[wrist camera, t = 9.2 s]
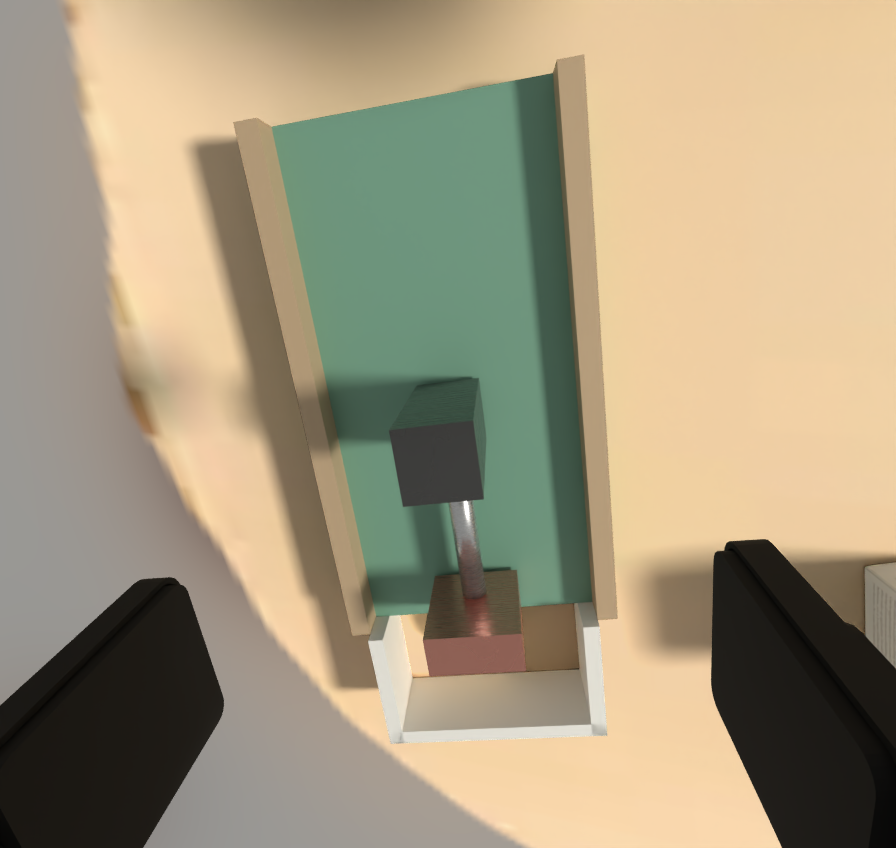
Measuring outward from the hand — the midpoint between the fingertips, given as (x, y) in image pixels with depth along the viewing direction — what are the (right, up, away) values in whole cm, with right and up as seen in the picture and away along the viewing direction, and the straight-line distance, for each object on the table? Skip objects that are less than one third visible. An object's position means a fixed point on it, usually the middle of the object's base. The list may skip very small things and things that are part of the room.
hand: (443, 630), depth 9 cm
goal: (+3, -9, +23) cm, 25 cm away
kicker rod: (+1, 0, +18) cm, 18 cm away
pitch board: (0, +6, +18) cm, 19 cm away
